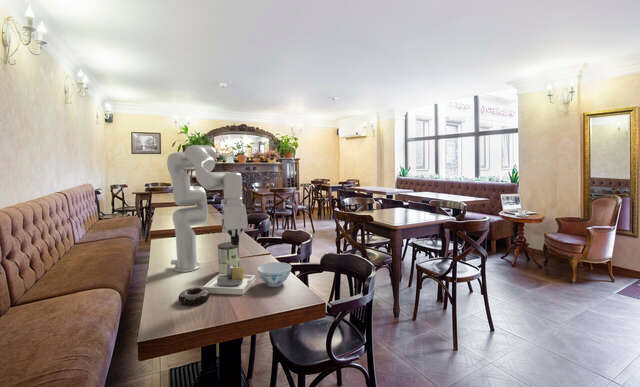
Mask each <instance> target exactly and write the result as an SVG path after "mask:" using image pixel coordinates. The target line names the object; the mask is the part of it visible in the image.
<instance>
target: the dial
mask: <svg viewBox="0 0 640 387" xmlns="http://www.w3.org/2000/svg"><path fill="white" fill-rule="evenodd" d="M245 275H246V274H245V267H244V266H243V267H242V266H239V267H232V266H229V267H227V274H226V275H223V276H220V277H218V278H217V285H218V286H220V287H234V286H238V285H240V284H242V282H243V279H244V278H245Z"/></svg>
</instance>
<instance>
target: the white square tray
mask: <svg viewBox="0 0 640 387" xmlns="http://www.w3.org/2000/svg"><path fill="white" fill-rule="evenodd" d="M223 275H226V274H219V273H218V274H217V275H215V276H214V277H213V278H212V279H210V280H209V281H208V282H207V283H206V284H204V285H203V286H202V288H206V289H207V290H208V291H209V293H210V294H221V295H222V294H224V295H245V293H247V291H248V290H249V289H250V288H251V286H252V285H253V284H254V283H255V282H256V280H257V279H256V277H257V276H256V275H254V274H245V278H244V279H243V282H242V284H240V285H238V286H234V287H220V286H218V285H217V278H218V277H220V276H223Z"/></svg>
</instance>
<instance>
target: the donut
mask: <svg viewBox="0 0 640 387" xmlns="http://www.w3.org/2000/svg"><path fill="white" fill-rule="evenodd" d="M202 287H203V286H202ZM202 287H201V286H197V287H196V286H195V287H190V288H187V289H185V290H183V291H181V292H180V293H179V295H178V298H177V299H178V302H179V303H180V304H181V305H183V306H188V307H189V306H196V305H201V304H203V303H205V302H206V301H208V300H209V299H210V294H211V293H209V291H208V290H207V289H206V288H202Z"/></svg>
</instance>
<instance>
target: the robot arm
mask: <svg viewBox="0 0 640 387" xmlns="http://www.w3.org/2000/svg"><path fill="white" fill-rule="evenodd" d="M217 156H218V154H217V151H216V149H215V148H214V147H213V146H212V145H205V144H191V145H189V146H187V147H186V148H185V150H184V151H178V152H172V153H171V154H169V155H168V156H167V160H166V161H167V162H166V166H167V170H168V173H169V174H170V175H169V176H170V178H171V182H172V183H171V185H172V186H171V187H172V193H173V194H172V195H173V200H174V204H175V205H177V206H190V205H195V206H192V207H191V206H190V207H183V208H178V209H176V210H174V211H173V213H172V222H173V226H174V232H175V233H174V234H175V246H176V247H175V248H176V259H171V261H170V265H174V267H173V270H174V271H175V272H177V273H188V272H192V271H193V272H194V271H196V270H198V269H200V268H201V263H199V262H198V257H197V255H198V254H197V237H196V235H197V234H196V232H195V231H194V229H193V228H192V227H193V226H198V225H202V224H205V223H207V222H208V220H209V210H208V208H209V207H208V199H207V198H208V196H207V193H206V190H207V191H214V190H215V191H216V190H223V199H222V200H221V201H220V202H221V204H222V205H223V206H222V210H221V228H222V229H221V232H222V233H224V234H228V235H229V236H230V242H231V243H232V245H235V246H236V245H239V246H240V243H239V242H240V235H241V234H242V232H243V231H245V230H247V227H248V225H249V224H248V213H247V210H246V205H245V204H244V203H243V200H244V199H243V179H242V178H243V177H242V174H241V173H240V172H231V171H213V170H214V168H215V166H216V159H217ZM186 170H195V178H196V181H197V182H198V183H199V185H191V178H190V176H189V174H188V172H186ZM212 171H213V172H212ZM205 189H206V190H205Z"/></svg>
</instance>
